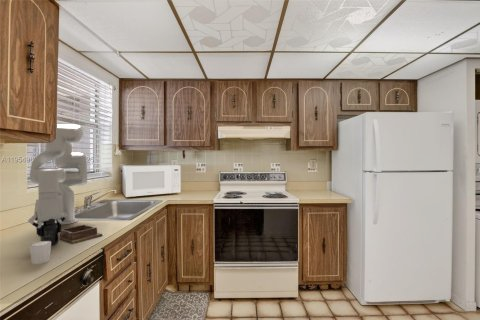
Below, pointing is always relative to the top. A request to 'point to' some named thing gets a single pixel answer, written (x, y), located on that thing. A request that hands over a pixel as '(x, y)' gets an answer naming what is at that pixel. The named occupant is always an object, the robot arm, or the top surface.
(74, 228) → the bottle cradle
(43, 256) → the shot glass
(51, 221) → the supplement bottle
